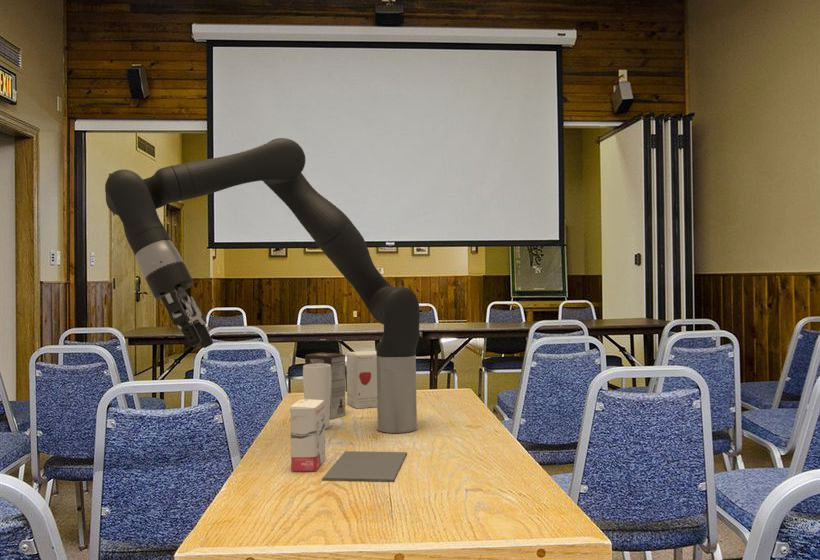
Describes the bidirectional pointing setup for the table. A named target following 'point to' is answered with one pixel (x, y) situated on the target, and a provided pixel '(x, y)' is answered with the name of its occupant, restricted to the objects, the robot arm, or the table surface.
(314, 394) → the drinking glass
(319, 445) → the ink box
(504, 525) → the table surface
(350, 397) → the supplement box
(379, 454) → the charcoal mat
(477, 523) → the table surface
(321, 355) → the coffee box
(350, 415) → the table surface
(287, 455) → the table surface
